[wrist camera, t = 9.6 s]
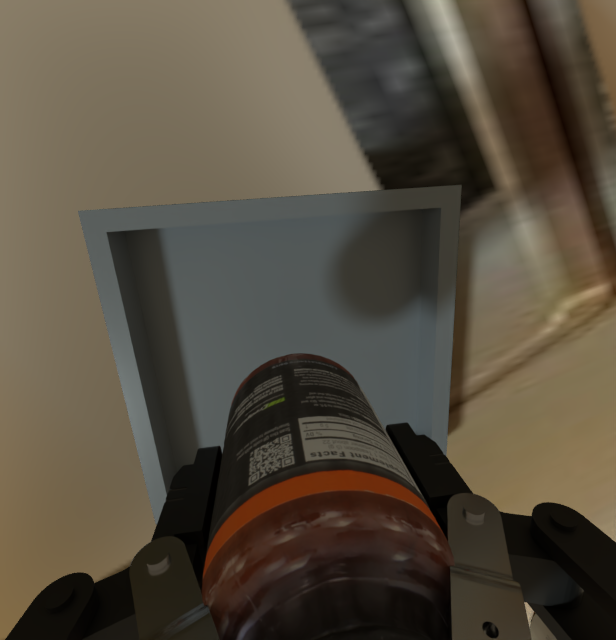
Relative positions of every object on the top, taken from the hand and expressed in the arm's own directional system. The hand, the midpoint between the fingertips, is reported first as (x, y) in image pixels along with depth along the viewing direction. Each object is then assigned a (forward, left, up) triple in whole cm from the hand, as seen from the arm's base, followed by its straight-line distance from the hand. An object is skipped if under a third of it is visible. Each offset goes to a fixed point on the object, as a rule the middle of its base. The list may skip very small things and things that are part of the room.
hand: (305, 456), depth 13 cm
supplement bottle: (0, 0, -3) cm, 3 cm away
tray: (0, 0, -10) cm, 10 cm away
